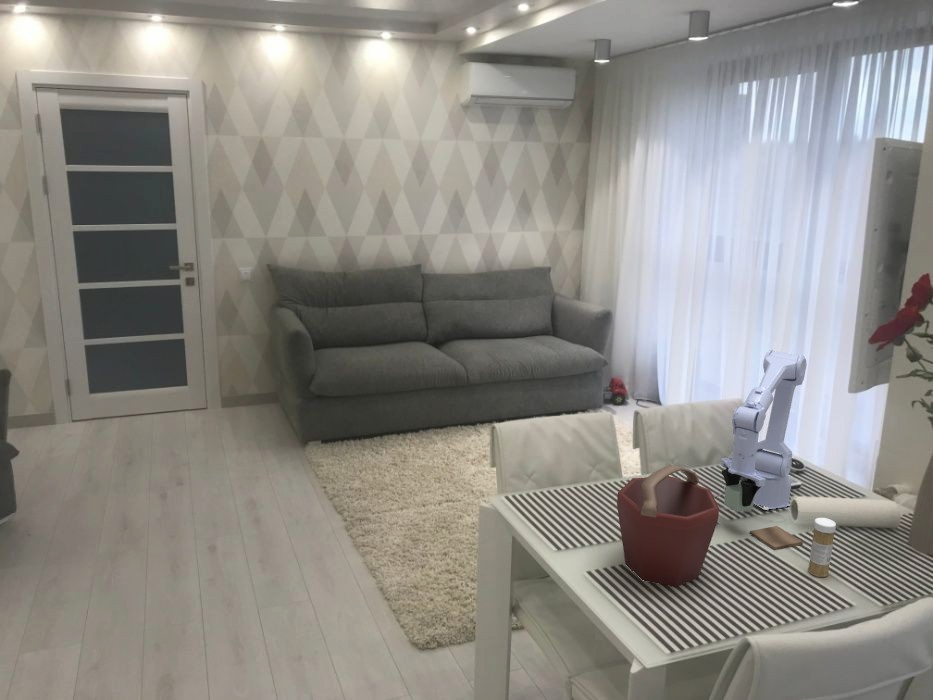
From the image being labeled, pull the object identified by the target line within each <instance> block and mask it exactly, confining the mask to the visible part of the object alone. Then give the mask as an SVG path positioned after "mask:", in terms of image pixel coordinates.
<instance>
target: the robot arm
mask: <svg viewBox="0 0 933 700" xmlns="http://www.w3.org/2000/svg"><path fill="white" fill-rule="evenodd" d="M762 367H763V373H764V374H763V376H762V379H761V380H760V383H759V385H758V387H757V386H756V387H753V389H751V391H750V393H749V394H748V396H747V397H746V399H745V401H744V403H743V404H742V405H741V406H739V407H738V406H737V407H736V408H735V409H734V412H733V415H732V423H731V424H732V433H733V435H734V438H733V447H732V457H731V458H728V457H724V458H721V459H720V466H722V467H726V468H725V469H722V470H721V475H722V476H723V479H724V481H725V485H726V486H730V485H736V484H741V487H742V505H743V506H744V507H746V506H750V505H751V503H752V500H753V498H754V502H753V503H754V504H756V505H761V506H765V507H768V508H769V509H773V510H776V508H778V509H783V508H788V507H787V506H789V504H790V497H791V495H790V494H791V488H792V483H791V482H792V481H791V478H790V477H789V474H790V472H791V469H792V465H793V464H792V463H793V461H792V459H793V452H792V450H791V448H789V447H788V446H787V445H786V444H785V439H786V438H785V437H786V433H787V432H786V431H787V427H788V422H789V417H790V412H791V408H792V403H793V397H794V393H795V390H796V386H801V385H803V382H804V379H805V375H806V369H807V359H806V357H805V356H804V355H799V354H798V355H797V354H792V353H786V352H780V351H775V350H768V351H767V352H766V354H765V355H764V359H763V364H762ZM773 393H774V395H773ZM771 404H772V406H771ZM770 406H771V411H770V415H769V420H768V424H767V430H766V434H765V439H763V440H761V441H759V435H760V433H761V430H762V429H763V426H764V423H765V420H766V416H767V411H768V410H769V408H770ZM742 477H743V478H745V479H746V480H741V478H742ZM740 480H741V481H740ZM726 486H725V487H726ZM754 504H753V505H754ZM756 505H755V506H756ZM789 507H790V506H789Z"/></svg>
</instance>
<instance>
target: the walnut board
mask: <svg viewBox="0 0 933 700" xmlns="http://www.w3.org/2000/svg"><path fill="white" fill-rule="evenodd" d="M749 535H751V536H752V537H754V538H755V539H757V540H758V541H760V542H762V543H763V544H764V545H766V546H767V547H769V548H770V549H771V550H773V551H778V550H782V549H783V550H784V549H787V548H791V547H797V546H801V544H802V545H803V543H804V542H803V541H802V540H801V539H799V538H798V537H796V536H795V535H793V534H791V533H790V532H788V531H786V530H785V529H783V528H781V527H780V526H778V525H775V526H769V527H768V526H767V527H763V528H759V529H752V530H749Z"/></svg>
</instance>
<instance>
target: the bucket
mask: <svg viewBox="0 0 933 700" xmlns="http://www.w3.org/2000/svg"><path fill="white" fill-rule="evenodd" d="M678 472H683V473H684V474H685V476H686V477H687V479H686V480H683V479H679V478H677V477H673V476H671V475H672V474H675V473H678ZM699 482H700V479H699V476H698V475H697V473H696V472H695V471H693V470H691V469H688V468H685V467H682V466H677V465H674V464H673V465H672V464H669V465H667V466H664V467H661V468H659V469H658V470H656V471H654V472H653V473H651V474H650V475H649V476H647V477H633V478H631V479H630V480H629V481H628V482H627V483H626V484H625V485H624V486H623V487H622V488H620V490H619V491H618V492H617V497H616V500H617V501H616V507H617V516H618V521H619V527H620V528H619V530H620V534H621V544H622V549H623V550H622V551H623V556H624V564H626V565H627V566H628V567H629V568H630V569H631V570H630V569H629V568H628V567H627V566H626V565H625V566H626V567H627V568H628V569H629V570H630V571H631V572H633V571H634V572H635V573H636V574H637V575H638V576H639V577H640V578H641V579H642V580H644V581H643V582H646V581H650V582H649V583H651V582H654V583H653V584H656V583H659V584H658V585H662V584H664V585H663V586H667V585H669V586H668V587H672V586H673V588H677V586H678V587H680V586H682V585H685V584H687V583H690V582H692V581H695V580H697V579H699V576H700V574H701V571H702V568H703V566H704V563H705V560H706V556H707V554H708V550H709V548H710V545H711V542H712V539H713V537H714V534H715V530H716V528H717V525H718V522H719V514H720V507H719V505H718V503H717V502H716V499H715V497H714V494H713V492H712V491H711V489H710V488H707V487H704V486H700V485H698V484H699ZM634 572H633V573H634ZM635 573H634V574H635ZM636 574H635V575H636ZM637 575H636V576H637ZM638 576H637V577H638ZM639 577H638V578H639ZM640 578H639V579H640ZM641 579H640V580H641ZM642 580H641V581H642ZM689 581H690V582H689Z"/></svg>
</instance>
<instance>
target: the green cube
mask: <svg viewBox="0 0 933 700" xmlns="http://www.w3.org/2000/svg"><path fill="white" fill-rule="evenodd" d="M753 502H754V498H753V500H752V503H751V505H750V506H746V507H744V506H743V505H742V487H741V484H740V483H739V484H736V485H730V486H725V493H724V502H723V503H724V505H725V506H728V507H729V508H730V509H732V510H733V511H735V512H736V513H738V512H744V511H749V510H753V509H754V504H753Z"/></svg>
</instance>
